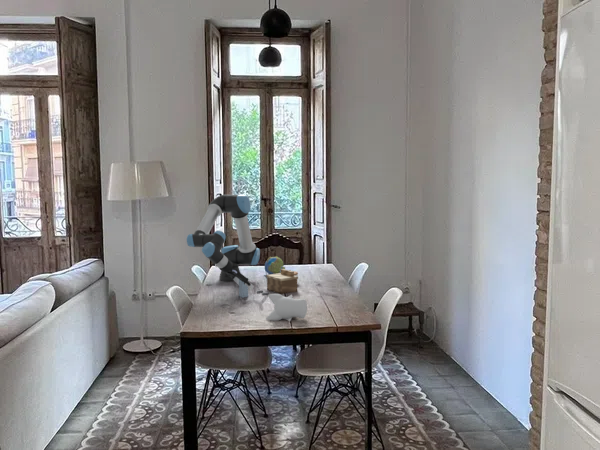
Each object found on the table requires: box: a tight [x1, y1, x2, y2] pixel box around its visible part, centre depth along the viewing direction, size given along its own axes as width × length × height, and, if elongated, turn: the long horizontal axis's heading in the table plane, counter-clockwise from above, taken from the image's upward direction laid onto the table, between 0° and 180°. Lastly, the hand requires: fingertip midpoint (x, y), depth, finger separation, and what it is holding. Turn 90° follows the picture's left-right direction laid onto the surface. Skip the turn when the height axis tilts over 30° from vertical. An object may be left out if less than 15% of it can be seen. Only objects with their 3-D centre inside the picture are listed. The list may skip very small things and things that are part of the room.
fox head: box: [265, 293, 308, 322], centre depth 268 cm, size 13×17×20 cm
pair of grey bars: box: [256, 289, 270, 296], centre depth 324 cm, size 8×4×1 cm, turn 35°
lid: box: [265, 268, 299, 281], centre depth 332 cm, size 17×13×4 cm
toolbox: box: [266, 277, 298, 295], centre depth 332 cm, size 16×12×8 cm
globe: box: [264, 255, 286, 275], centre depth 385 cm, size 14×16×15 cm
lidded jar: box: [289, 269, 299, 278], centre depth 352 cm, size 11×11×9 cm
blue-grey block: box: [238, 277, 249, 298], centre depth 317 cm, size 4×4×11 cm
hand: (247, 286), depth 318 cm, fingers open, 13 cm apart
